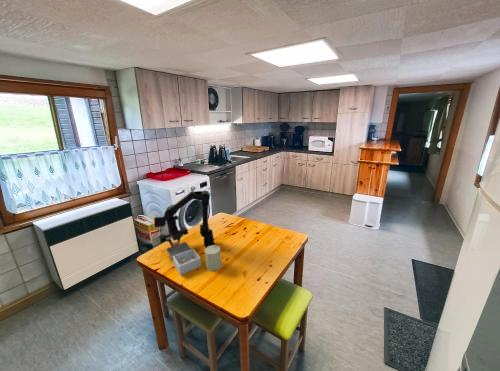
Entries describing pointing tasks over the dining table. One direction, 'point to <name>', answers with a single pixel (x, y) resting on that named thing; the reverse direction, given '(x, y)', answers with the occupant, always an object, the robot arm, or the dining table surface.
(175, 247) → the lid
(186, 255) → the tub
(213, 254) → the can
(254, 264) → the dining table surface
